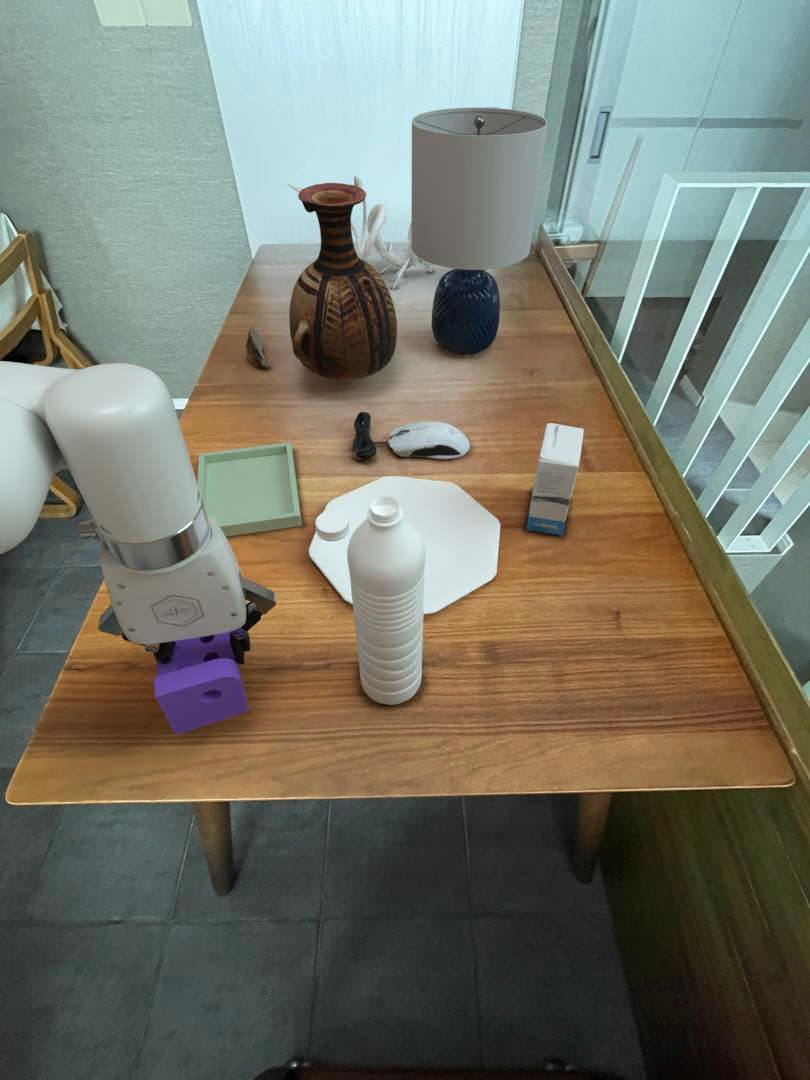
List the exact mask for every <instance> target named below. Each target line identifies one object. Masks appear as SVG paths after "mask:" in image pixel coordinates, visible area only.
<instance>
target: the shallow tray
mask: <svg viewBox="0 0 810 1080" xmlns="http://www.w3.org/2000/svg"><path fill="white" fill-rule="evenodd" d="M292 445H293V444H292V442H291V441H290V442H281V443H273V444H265V445H257V446H250V447H248V446H247V447H241V448H233V449H226V450H217V451H208V452H201V453H198V461H197V462H198V463H197V466H198V467H197V478H196V481H197V484H198V488H199V491H200V494H201V497H202V501H203V504H204V507H205V511H206V514H207V516H210V517H212V518H214V519H215V521H216V522H217V524H218V525H219V526H220V528H221V530H222V531H223V533H224V535H225V536H226V538H228V537H234V536H235V537H236V536H241V535H248V534H255V533H263V532H269V531H275V530H276V531H277V530H283V529H289V528H290V529H291V528H296V527H302V526H303V523H302V516H301V514H302V513H301V506H300V498H299V491H298V483H297V474H296V468H295V458H294V450H293V446H292Z"/></svg>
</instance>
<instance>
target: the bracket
mask: <svg viewBox="0 0 810 1080" xmlns="http://www.w3.org/2000/svg"><path fill="white" fill-rule="evenodd" d="M175 643H176V645H177V647H178V650H177V647H176V645H175V649H174V652H173V656H172V659H171V662H168V663H167V664H162V662H161V660H156V676H153V685H154V694H155V699H156V700H157V702H158V704H159V706H160V709H161V710H162V712H163V714H164V716H165V718H166V720H167V722H168V724H169V726H170V728H171V730H172V731H173V733H174V736H178V735H181V734H183V733H187V732H189V731H193V730H195V729H198V728H201V727H205V726H208V725H211V724H214V723H218V722H221V721H223V720H227V719H229V718H232V717H236V716H240V715H241V714H245V713H247V712H250V708H249V703H248V700H247V695H246V691H245V687H244V683H243V679H242V674H241V670H240V665H239V664H237V663H236V660H235V657H234V654H233V651H232V648H231V645H230V633H229V632H226V633H221V634H216V635H209V636H203V637H197V638H191V639H184V640H177V641H175Z"/></svg>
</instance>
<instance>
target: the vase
mask: <svg viewBox="0 0 810 1080" xmlns="http://www.w3.org/2000/svg"><path fill="white" fill-rule="evenodd" d="M301 189H302V190H301V191H300V193H298V194H297V196H298V197H297V198H298V199H299V200H300V202H301V203H302V205H303V208H304V210H305V212H307V213H310V214H311V213H314V212H315V214H316V218H317V221H318V227H319V232H320V233H319V234H320V249H319V253H318V256H317V258H316V260H314V261H313V262H311V263H310V264H309V265H308V266H306V267H305V269H303V271H302V272H301V273H300V274H299V276H298V278H297V280H296V281H295V284H294V287H293V290H292V293H291V298H290V303H289V315H288V316H289V318H288V319H289V320H288V321H289V333H290V339H291V345H292V352H293V354H294V356H295V358H296V359H297V360H299V362H300V363H301V364H302V365H303V367H305V369H307V370H308V371H309V372H310V373H312V374H314V375H315V376H317V377H321V378H324V379H328V380H334V381H355V380H361V379H365V378H368V377H370V376H373V375H375V374H376V373H378V372H380V371H381V370H383V369H384V368H386V367H387V366H388V365H389V363H390V362H391V361H392V359H393V357H394V354H395V351H396V346H397V339H398V338H397V337H398V336H397V335H398V320H397V314H396V309H395V304H394V302H393V298H392V296H391V292H390V291H389V288H388V286H387V284H386V282H385V281H384V279H383V276H381V273H380V272H378V270H377V269H376V268H375V267H374V266H372V265H371V264H370V263H368V262H365V261H363V260H361V259H360V256H359V254H358V253H357V250H356V248H355V245H354V240H353V233H352V232H353V231H352V228H351V222H352V213H353V209H354V207H355V206H356V205H359V204H361V203H363V201H364V200H365V199H366V197H367V192H366V191H365V190H364V189H363V188H362V189H361V188H360V187H357V186H355V185H354V184H348V183H341V182H324V183H317V184H313V185H309V186H307V187H305V188H301Z"/></svg>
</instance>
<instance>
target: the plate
mask: <svg viewBox="0 0 810 1080" xmlns="http://www.w3.org/2000/svg"><path fill="white" fill-rule="evenodd" d="M382 496H388V497H392V498H394V499H396V500H397V501H398V503H399V505H400V508H401V510H402V512H403V516H402V517H404V518H405V519H406V520H407V521H408V522H409V523H411V524H412V525H413V526H414V527H415V528H416V529H417V530H418V532H419V533H420V535H421V537H422V539H423V542H424V545H425V553H426V556H425V574H424V604H423V610H424V616H429V615H435V614H437V613H439V612H441V611H442V610H444V609H446V608H447V607H449V606H451V605H452V604H454V603H456V602H457V601H460V600H461V599H463V598H465V597H467V596H469V595H470V594H472V593H473V592H475V591H477V590H478V589H480V588H482V587H483V586H485V585H487V584H489V583H491V582H493V580H494V578H495V577H496V576H497V574H498V561H499V548H500V537H501V526H502V525H501V523H500V521H499V518H498V517H496V516H495V515H494V514H492V513H491V512H490V511H489V510H487V508H485V507H484V506H483V505H482V504H481V503H479V502H478V501H477V500H476V499H474V498H473V496H471V495H470V494H469V493H468V492H466V490H464V489H463V488H461V487H460V486H459V485H458V484H456V483H453V482H451V481H443V480H435V479H434V480H433V479H426V478H425V479H424V478H415V477H407V476H397V475H388V476H387V475H386V476H382V477H380V478H378V479H376V480H374V481H371V482H368V483H367V484H364V485H362V486H359V487H358V488H356V489H353V490H351V491H348V492H347V493H344V494H342V495H340V496H338V497H335V498H333V499H331V500H330V501H329V502H328V503H326V505H325V507H324V510H323V512H325V511H329V510H337V511H341V512H343V513H345V514H346V515H347V517H348V520H349V533H348V534H347V536H346V537H344V538H343V539H341V540H338V541H325V540H323V539H321V538H320V537H319V536H318V535H317V531H316V530H315V532H314V535H313V538H312V540H311V543H310V545H309V548H308V556H309V558H310V560H311V561H312V562H313V563H314V565H315V566H316V567H317V568H318V570H319V571H320V572H321V573H322V574H323V576H324V577H325V578H326V580H327V581H328V582H329V583H330V584H331V586H332V587H333V588H334V589H335V590H336V592H337V593H338V594H339V596H340V597H341V598H342V599H343V601H344V602H346V603H348V604H350V605H352V606H353V601H352V592H351V583H350V573H349V566H348V559H347V550H348V544H349V541H350V539H351V536H352V535H353V533H354V532H355V530H356V529H357V528H358V527H359V526H360V525H361V524H362V523H363V522H364V521H365V520H366V519H367V518H368V517H367V512H368V510H369V508H370V504H371V502H372V501H373V500H374V499H376V498H378V497H382ZM338 538H339V537H338ZM328 539H330V538H328ZM332 539H333V538H332Z"/></svg>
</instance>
